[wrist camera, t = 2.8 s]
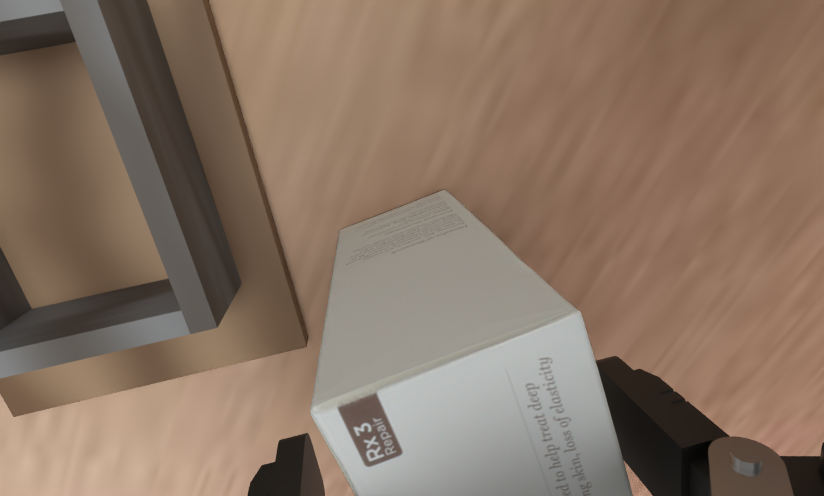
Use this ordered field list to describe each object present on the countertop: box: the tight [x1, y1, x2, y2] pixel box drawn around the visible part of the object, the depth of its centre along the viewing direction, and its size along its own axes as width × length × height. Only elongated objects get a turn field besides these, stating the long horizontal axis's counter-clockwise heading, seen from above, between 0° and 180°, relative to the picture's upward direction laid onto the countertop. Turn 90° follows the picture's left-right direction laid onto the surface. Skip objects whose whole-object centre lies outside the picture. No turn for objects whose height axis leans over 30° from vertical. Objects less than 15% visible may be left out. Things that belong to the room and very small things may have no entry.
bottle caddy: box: [0, 0, 308, 417], centre depth 17 cm, size 14×20×6 cm
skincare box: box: [310, 190, 633, 496], centre depth 17 cm, size 8×6×15 cm
